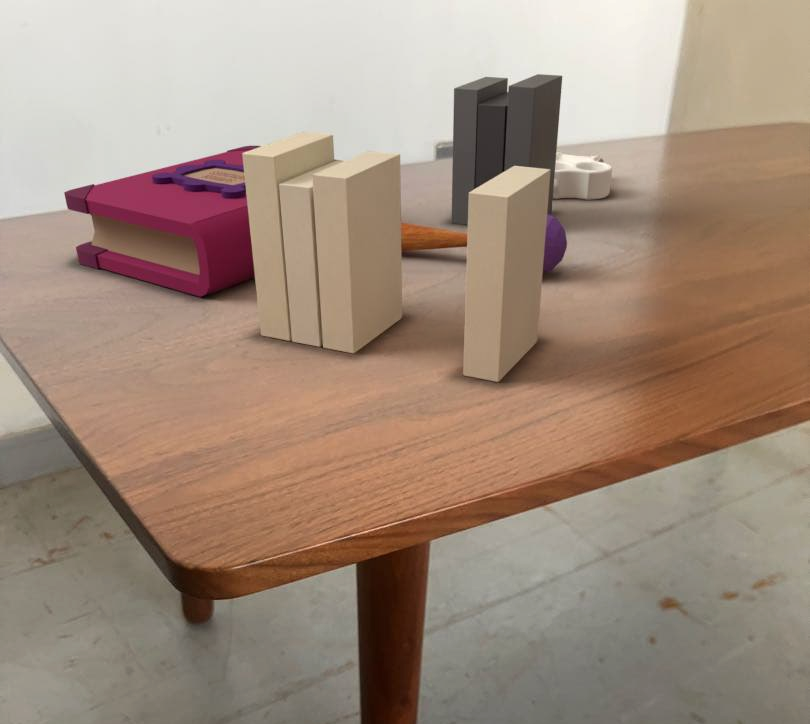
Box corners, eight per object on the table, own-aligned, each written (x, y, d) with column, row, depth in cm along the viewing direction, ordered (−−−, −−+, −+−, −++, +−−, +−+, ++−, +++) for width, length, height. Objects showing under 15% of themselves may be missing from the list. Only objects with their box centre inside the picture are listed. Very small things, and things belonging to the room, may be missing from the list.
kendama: (398, 205, 100) (576, 211, 91) (398, 262, 102) (572, 273, 94) (371, 208, 95) (557, 214, 86) (372, 267, 97) (553, 279, 89)
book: (389, 231, 105) (388, 161, 101) (211, 301, 87) (200, 220, 83) (256, 203, 116) (250, 139, 111) (72, 261, 97) (56, 186, 93)
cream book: (537, 341, 78) (550, 169, 70) (498, 382, 72) (508, 197, 64) (504, 336, 79) (514, 165, 71) (462, 375, 73) (468, 192, 65)
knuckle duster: (625, 180, 124) (596, 207, 113) (499, 168, 130) (461, 192, 119) (628, 153, 122) (599, 178, 111) (500, 143, 128) (461, 165, 117)
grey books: (551, 212, 111) (562, 75, 103) (525, 232, 105) (535, 87, 96) (480, 204, 115) (485, 70, 106) (451, 222, 108) (453, 82, 99)
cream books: (402, 317, 83) (400, 140, 75) (353, 353, 76) (345, 164, 68) (314, 302, 87) (302, 131, 78) (260, 335, 80) (241, 152, 71)
